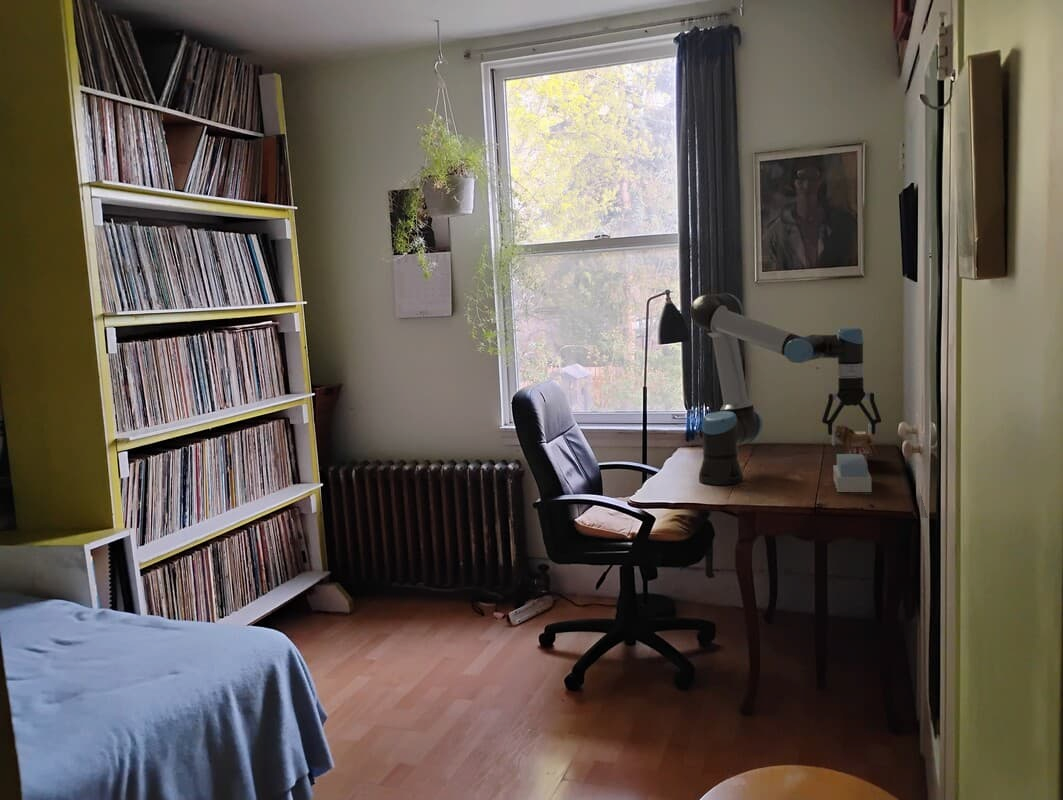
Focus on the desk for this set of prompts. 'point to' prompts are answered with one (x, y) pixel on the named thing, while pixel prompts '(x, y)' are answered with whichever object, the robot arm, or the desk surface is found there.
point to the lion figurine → (853, 439)
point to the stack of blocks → (859, 448)
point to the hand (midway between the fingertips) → (851, 444)
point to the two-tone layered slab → (851, 473)
